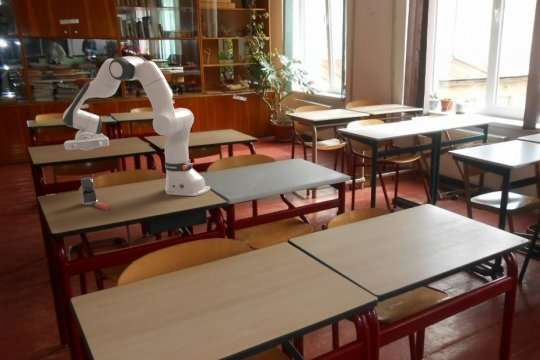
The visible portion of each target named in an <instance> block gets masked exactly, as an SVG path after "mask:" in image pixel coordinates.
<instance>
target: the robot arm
mask: <svg viewBox="0 0 540 360" xmlns="http://www.w3.org/2000/svg"><path fill="white" fill-rule="evenodd" d="M136 80H138V81H139V82H140V84H141V86H142V87H143V90H144V92H145V94H146V96H147V97H148V100H149V102H150V104H151V108H152V111H153V120H152V127H153V130H154V132H155V133H157V134H158V135H161V136H167V139H166V142H165V143H164V158H165V161H164V168H165V172H166V176H165V177H166V178H165V188H164V191H165V194H166V195H169V196H171V195H172V196H186V197H187V196H188V197H197V196H200V195H203V194H206V193H207V192H210V190H211V186H209V185H206V181H205V178H204V177H203V176H202V175H201V174H200V173H198V171H197V170H195V169H194V168H193V166H194V165H195V163H194V162H192V163H191V161H190V159H189V139H190V134H191V128H192V125H193V124H194V121H195V116H194V114H193V112H192V111H191V110H190V109H188V108H185V107H184V108H183V107H177V108H175V107H174V103H173V96H174V93H173V90H172V89H171V87H170V85H169V83H168V81H167V80H166V77H165V75H164V73H163V72H162V71H161V68H159V66H158V65H157V64H156V63H155V62H154V61H153V60H148V59H146V58H145V57H143V56H139V55H138V56H131V55H128V56H122V57H121V56H119V57H115V58H108V59H106V60H105V61H104V62H103V64H101V67H100V68H99V70H98V73H97V74H96V77H95V78H94V79H93V80H92V81H90V82H89V81H88V82H86V83H84V84H83V86H82V87H81V89H80V90H79V92H78V93H77V94H76V96H75V97H74V99H73V100H72V102H71V103H70V105H69V106H68V107H67V108H66V110H65V111H64V112H63V115H62V122H63V124H64V125H65V126H66V127H70V128H74V129H77V130H78V131H77V132H76V134H75V135H74V136H75V138H74V139H71V140H70V139H69V140H66V141H64V143H63V146H64V149H65V151H73V150H74V151H75V150H81V151H85V152H86V151H87V152H88V151H91V150H93V149H94V150H95V149H97V148H102V147H108V146H110V141H109V137H108V136H106V135H104V134H103V133H102V132H101V131H102V127H103V122H102V118H101V117H100V115H97V114H94V113H92V112H88V111H85V110H82V109H80V108H81V107H82V106H83V104H84V102H85V100H87V99H91V98H101V99H102V98H103V99H105V98H109V97H112V96H113V95H115V94H116V92H117V90H118V88H119V87H120V84H121V81H122V82H125V81H136Z"/></svg>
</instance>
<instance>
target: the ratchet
mask: <svg viewBox="0 0 540 360" xmlns="http://www.w3.org/2000/svg"><path fill="white" fill-rule="evenodd" d="M81 204H82V206H83V207H90V206H92V207H95V208H99V209H102V210H104V211H107V210H108V211H109V210H111V209H112V208H113V207H112V204H109V203H106V202H102V201H99V198H98V197H96V201H93V202H86V203H84V200H83V199H82V200H81Z"/></svg>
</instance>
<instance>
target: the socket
mask: <svg viewBox="0 0 540 360" xmlns="http://www.w3.org/2000/svg"><path fill="white" fill-rule="evenodd" d="M80 183H81V189H82V190H81V193H82V198H83V199H82V200H84V203H86V202H93V201H96V198H97V194H96V190H95V181H94V178H93V177H92V176H91V177H83V178H80Z"/></svg>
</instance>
